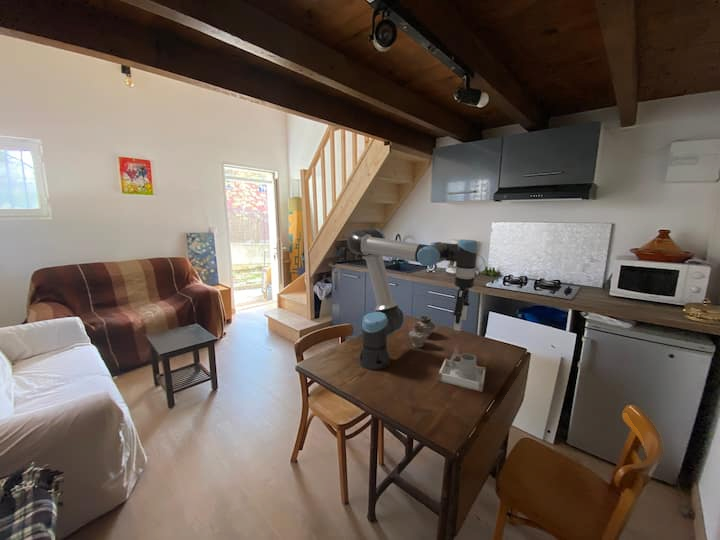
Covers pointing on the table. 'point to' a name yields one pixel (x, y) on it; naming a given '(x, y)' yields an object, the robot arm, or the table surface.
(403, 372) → the table surface
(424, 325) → the pottery
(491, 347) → the table surface
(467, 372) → the mug
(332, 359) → the table surface
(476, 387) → the crate
